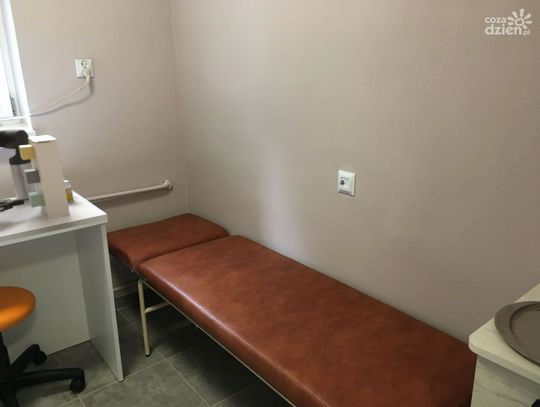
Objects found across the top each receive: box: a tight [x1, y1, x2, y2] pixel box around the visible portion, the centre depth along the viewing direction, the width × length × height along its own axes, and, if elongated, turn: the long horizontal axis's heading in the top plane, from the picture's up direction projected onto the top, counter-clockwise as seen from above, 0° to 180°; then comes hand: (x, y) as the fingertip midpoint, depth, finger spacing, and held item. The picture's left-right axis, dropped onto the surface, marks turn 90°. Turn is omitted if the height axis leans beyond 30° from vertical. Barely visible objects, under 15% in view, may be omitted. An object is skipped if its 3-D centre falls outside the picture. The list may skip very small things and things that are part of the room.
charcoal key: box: [24, 167, 40, 184], centre depth 182 cm, size 6×6×5 cm
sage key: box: [28, 190, 45, 208], centre depth 184 cm, size 6×6×5 cm
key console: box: [28, 135, 71, 220], centre depth 185 cm, size 18×8×32 cm, turn 36°
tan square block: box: [19, 145, 36, 160], centre depth 179 cm, size 6×6×5 cm
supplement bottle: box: [64, 179, 74, 203], centre depth 204 cm, size 5×5×10 cm
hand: (23, 201), depth 181 cm, fingers closed
